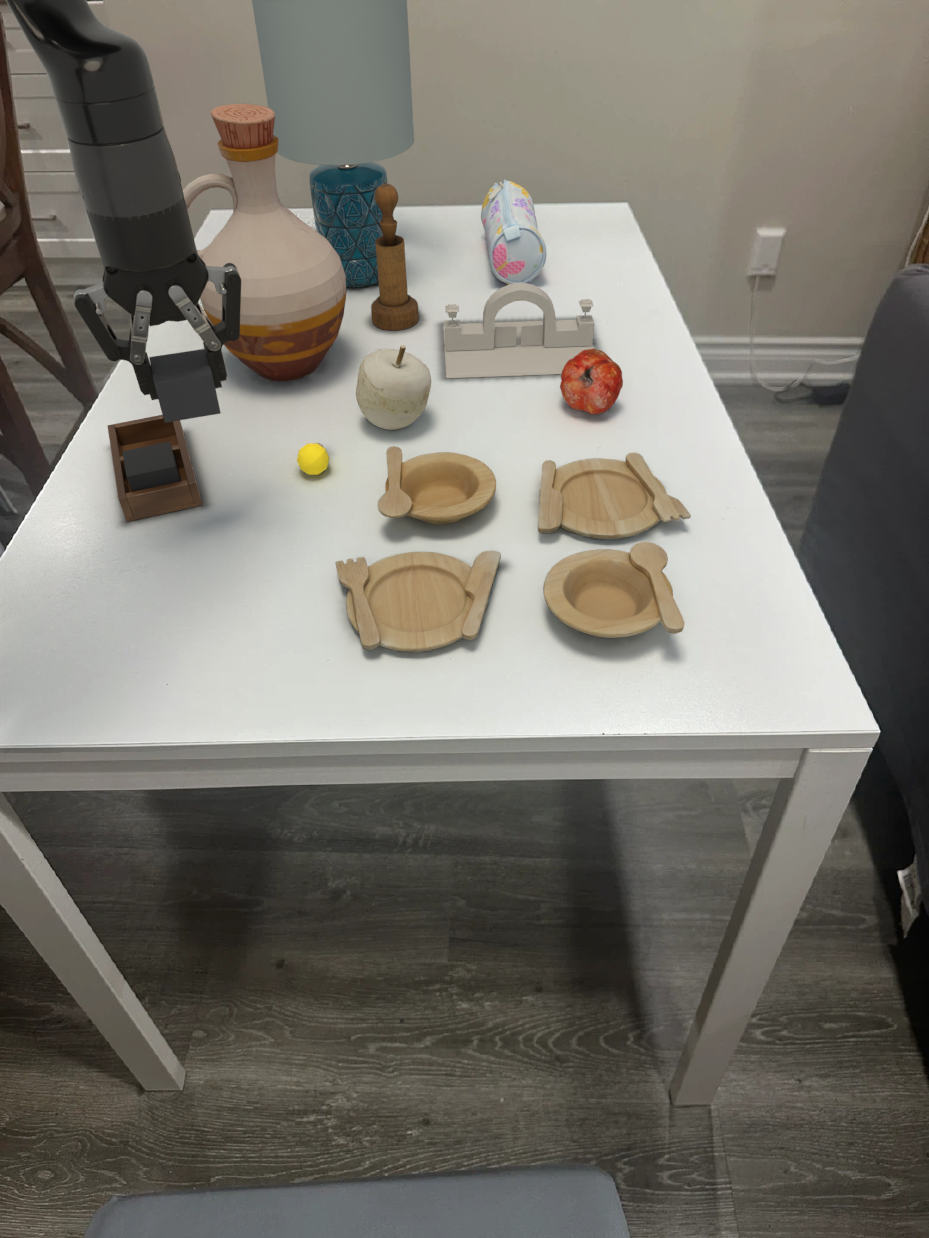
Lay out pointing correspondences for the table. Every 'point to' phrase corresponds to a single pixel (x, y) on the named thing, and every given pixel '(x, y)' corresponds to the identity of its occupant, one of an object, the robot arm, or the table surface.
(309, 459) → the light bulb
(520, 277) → the pencil case
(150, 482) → the pad left
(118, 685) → the table surface
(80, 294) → the robot arm
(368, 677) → the table surface
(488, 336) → the gateway
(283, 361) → the jug
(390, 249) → the mortar and pestle
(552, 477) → the tableware set
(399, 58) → the lamp
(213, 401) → the pad right
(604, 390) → the pomegranate
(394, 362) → the decorative object
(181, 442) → the back frame
